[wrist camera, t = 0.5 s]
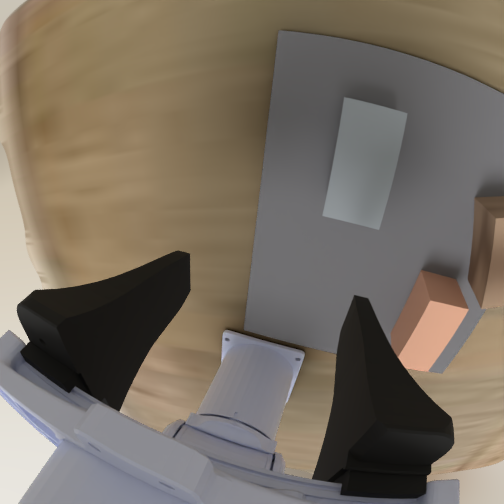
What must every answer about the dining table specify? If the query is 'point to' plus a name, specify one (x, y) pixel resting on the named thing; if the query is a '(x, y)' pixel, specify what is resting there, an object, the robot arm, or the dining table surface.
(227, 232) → the dining table surface
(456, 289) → the brick terracotta
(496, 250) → the brick walnut
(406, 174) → the felt mat
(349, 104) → the brick slate
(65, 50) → the dining table surface
